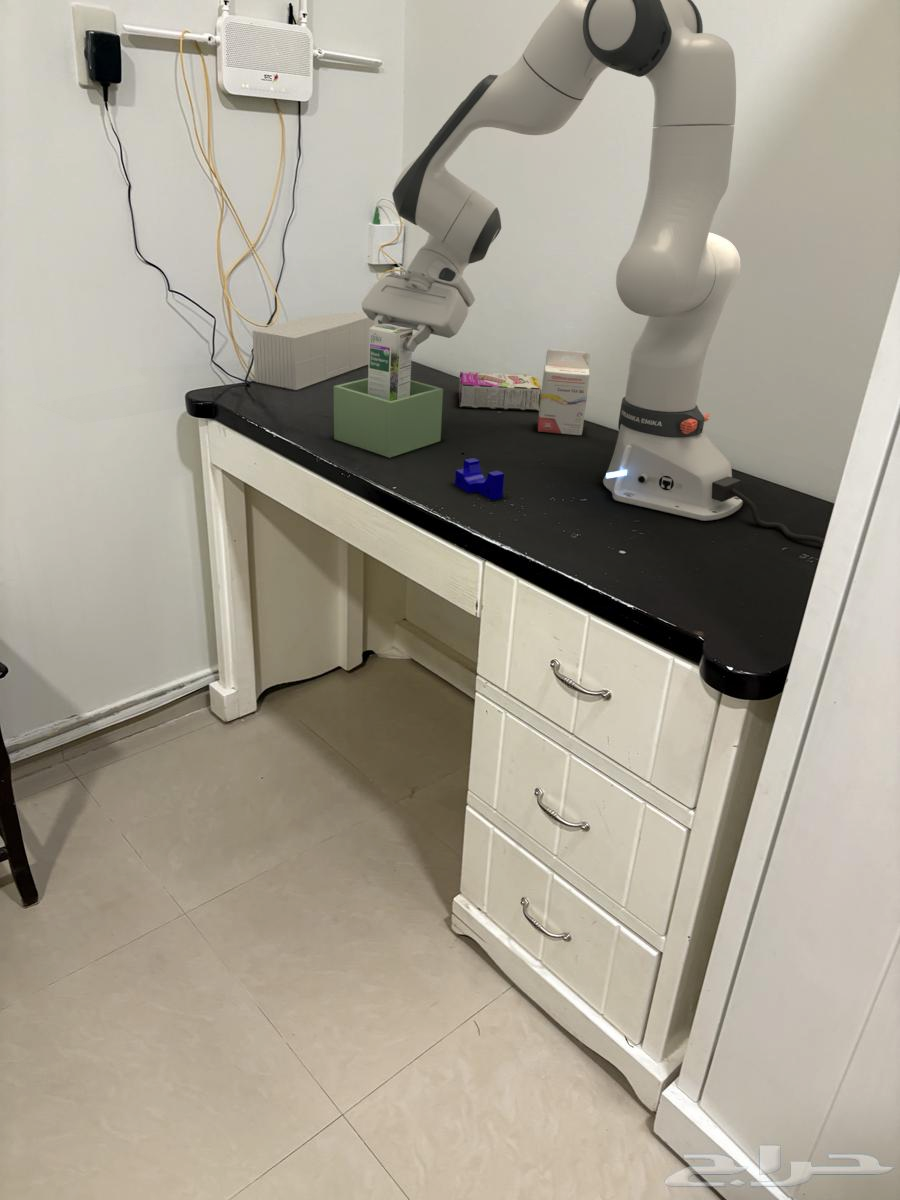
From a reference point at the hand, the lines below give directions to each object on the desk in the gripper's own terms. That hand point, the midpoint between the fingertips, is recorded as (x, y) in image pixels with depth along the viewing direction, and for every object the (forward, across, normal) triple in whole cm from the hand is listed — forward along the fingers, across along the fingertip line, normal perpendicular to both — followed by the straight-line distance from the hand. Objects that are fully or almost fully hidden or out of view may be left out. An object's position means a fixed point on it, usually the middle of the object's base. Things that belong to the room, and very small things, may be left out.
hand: (391, 345), depth 160 cm
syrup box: (+8, 0, +8) cm, 12 cm away
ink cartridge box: (-8, +18, +32) cm, 38 cm away
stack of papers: (-9, -38, +26) cm, 47 cm away
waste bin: (+12, 0, +12) cm, 17 cm away
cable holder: (+18, +27, +6) cm, 33 cm away
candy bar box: (-10, -8, +31) cm, 34 cm away
